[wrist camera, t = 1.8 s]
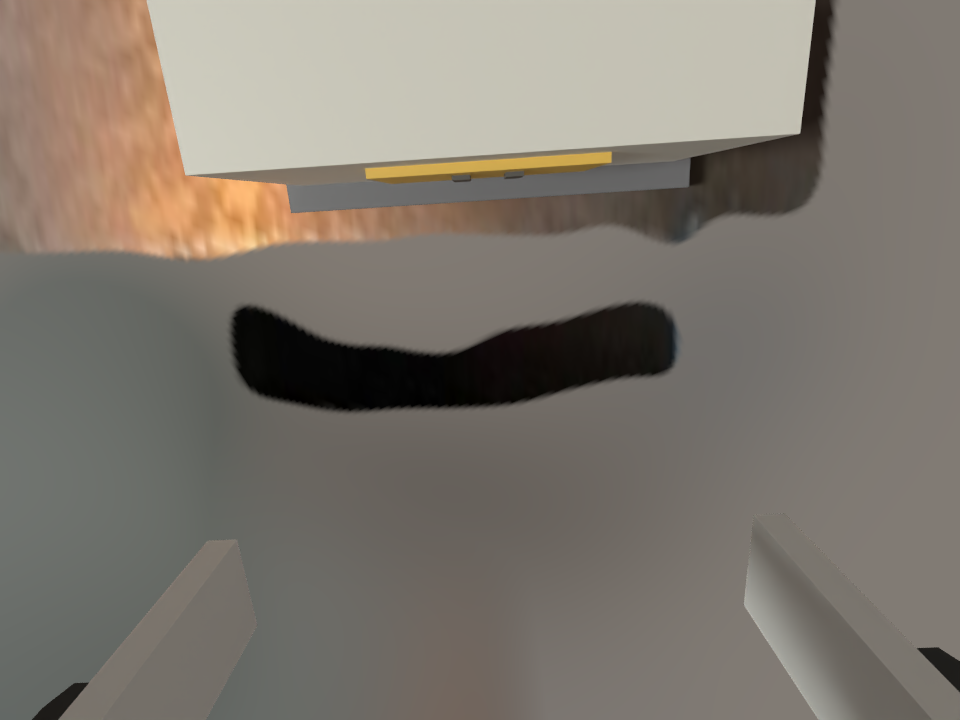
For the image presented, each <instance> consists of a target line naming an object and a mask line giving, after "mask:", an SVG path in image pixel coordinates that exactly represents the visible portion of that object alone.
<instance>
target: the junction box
mask: <svg viewBox="0 0 960 720" xmlns="http://www.w3.org/2000/svg"><path fill="white" fill-rule="evenodd" d="M815 2H816V0H147V4H148V8H149V13H150V17H151V22H152V26H153V31H154V35H155V40H156V44H157V49H158V53H159V58H160V62H161V67H162V71H163V76H164V80H165V85H166V89H167V94H168V98H169V103H170V107H171V112H172V116H173V121H174V125H175V130H176V134H177V139H178V143H179V148H180V152H181V157H182V162H183V166H184V171H185V175H188V176H199V177H210V178H221V179H232V180H243V181H254V182H266V183H277V184H286V185H287V191H288V197H289V203H290V209H291V213H300V212H315V211H330V210H346V209H361V208H376V207H392V206H407V205H422V204H438V203H453V202H468V201H483V200H499V199H514V198H529V197H545V196H560V195H575V194H590V193H606V192H621V191H636V190H652V189H667V188H682V187H689V176H690V159H691V157H695V156H700V155H704V154H709V153H713V152H718V151H723V150H727V149H732V148H736V147H741V146H746V145H750V144H755V143H759V142H764V141H769V140H773V139H778V138H782V137H787V136H792V135H796V134H800V131H801V122H802V114H803V105H804V96H805V88H806V79H807V71H808V62H809V54H810V45H811V36H812V28H813V19H814V11H815Z"/></svg>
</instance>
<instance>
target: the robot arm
mask: <svg viewBox="0 0 960 720" xmlns="http://www.w3.org/2000/svg"><path fill="white" fill-rule="evenodd" d="M750 544H751V545H750V553H749V563H748V571H747V581H746V591H745V599H744V606H745V608H746V609H747V611H748V612H749V613H750V615H751V617H752V618H753V619H754V621H755V623H756V624H757V626H758V627H759V629H760V630H761V632H762V634H763V635H764V637H765V638H766V640H767V641H768V643H769V644H770V646H771V647H772V649H773V651H774V652H775V653H776V655H777V657H778V658H779V660H780V661H781V663H782V664H783V666H784V667H785V669H786V671H787V672H788V674H789V675H790V677H791V678H792V680H793V681H794V683H795V684H796V686H797V687H798V689H799V691H800V692H801V694H802V695H803V697H804V698H805V700H806V701H807V703H808V704H809V706H810V707H811V709H812V711H813V712H814V713H815V715H816V717H817V718H818V720H960V661H958V660H957V659H955V658H954V657H952V656H950V655H949V654H947V653H946V652H944V651H943V650H941V649H940V648H916V647H915V646H914V645H913V644H912V643H911V642H910V641H909V640H908V639H907V638H906V637H905V636H904V635H903V634H902V633H901V632H900V631H899V630H898V629H897V628H896V627H895V626H894V625H893V624H892V623H891V622H890V621H889V620H888V619H887V618H886V617H885V616H884V615H883V614H882V613H881V612H880V611H879V610H878V608H877V607H876V606H875V605H874V604H873V603H872V602H871V601H870V600H869V599H868V598H867V597H866V596H865V595H864V594H863V593H862V592H861V591H860V590H859V589H858V588H857V587H856V586H855V585H854V584H853V583H852V582H851V581H850V580H849V579H848V578H847V577H846V576H845V575H844V574H843V573H842V572H841V571H840V570H839V569H838V568H837V567H836V566H835V564H834V563H833V562H832V561H831V560H830V559H829V558H828V557H827V556H826V555H825V554H824V553H823V552H822V551H821V550H820V549H819V548H818V547H817V546H816V545H815V544H814V543H813V542H812V541H811V540H810V539H809V538H808V537H807V536H806V535H805V534H804V533H803V532H802V531H801V530H800V529H799V528H798V527H797V526H796V525H795V524H794V523H793V522H792V521H791V520H790V518H789V517H788V516H787V515H785V514H764V515H754V516H753V525H752V535H751V543H750ZM256 627H257V623H256V619H255V614H254V610H253V606H252V602H251V598H250V593H249V589H248V585H247V580H246V577H245V572H244V568H243V563H242V559H241V555H240V551H239V546H238V542H237V539H236V540H214V541H207V542H206V543H205V545H204V546H203V547H202V548H201V549H200V551H199V552H198V553H197V554H196V555H195V557H194V558H193V559H192V560H191V561H190V562H189V564H188V565H187V566H186V567H185V569H184V570H183V571H182V572H181V573H180V575H179V576H178V577H177V578H176V579H175V580H174V582H173V583H172V584H171V585H170V586H169V588H168V589H167V590H166V591H165V593H164V594H163V595H162V596H161V597H160V599H159V600H158V601H157V602H156V603H155V605H154V606H153V607H152V608H151V610H149V612H148V613H147V614H146V615H145V616H144V618H143V619H142V620H141V621H140V623H139V624H138V625H137V626H136V627H135V629H134V630H133V631H132V632H131V633H130V634H129V636H128V637H127V638H126V639H125V641H124V642H123V643H122V644H121V645H120V646H119V648H118V649H117V650H116V651H115V652H114V654H113V655H112V656H111V657H110V658H109V660H108V661H107V662H106V663H105V664H104V666H103V667H102V668H101V669H100V670H99V672H98V673H97V674H96V675H95V676H94V678H93V679H92V680H91V681H90V682H89V683H74V684H73V685H71V686H70V687H69V688H68V689H66V690H65V691H64V692H62V693H61V694H60V695H59V696H57V697H56V698H55V699H53V700H52V701H51V702H50V703H48V704H47V705H46V706H45V707H44V708H42V709H41V710H40V711H39V713H38V714H37V715H36V716H35V717H34V718H33V719H32V720H206V718H207V716H208V715H209V713H210V711H211V709H212V707H213V705H214V704H215V702H216V700H217V698H218V696H219V694H220V693H221V691H222V689H223V687H224V685H225V683H226V682H227V680H228V678H229V676H230V674H231V672H232V671H233V669H234V667H235V665H236V663H237V661H238V660H239V658H240V656H241V654H242V652H243V650H244V649H245V647H246V645H247V643H248V641H249V640H250V638H251V636H252V634H253V632H254V630H255V629H256Z"/></svg>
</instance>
